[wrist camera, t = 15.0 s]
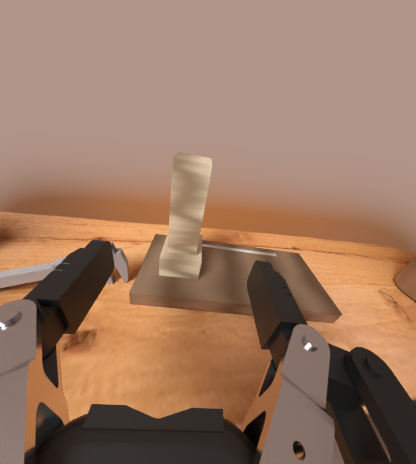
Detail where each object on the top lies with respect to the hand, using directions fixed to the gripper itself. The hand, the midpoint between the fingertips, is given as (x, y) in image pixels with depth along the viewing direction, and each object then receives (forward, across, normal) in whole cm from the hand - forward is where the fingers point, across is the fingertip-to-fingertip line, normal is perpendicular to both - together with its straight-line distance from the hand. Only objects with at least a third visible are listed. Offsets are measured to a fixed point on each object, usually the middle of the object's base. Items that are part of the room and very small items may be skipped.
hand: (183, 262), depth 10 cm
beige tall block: (+11, +1, +10) cm, 15 cm away
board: (+11, -7, +12) cm, 18 cm away
